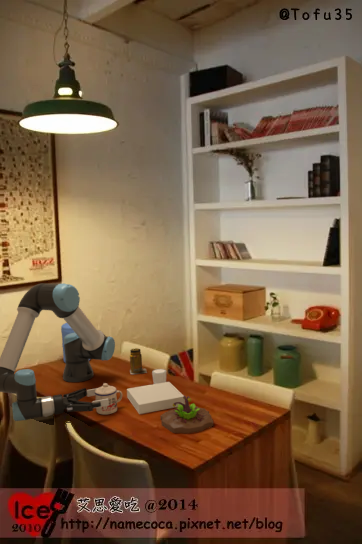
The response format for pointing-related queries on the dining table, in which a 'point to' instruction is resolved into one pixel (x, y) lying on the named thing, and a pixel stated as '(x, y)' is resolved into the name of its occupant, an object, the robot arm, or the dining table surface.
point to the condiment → (136, 362)
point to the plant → (186, 418)
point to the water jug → (65, 331)
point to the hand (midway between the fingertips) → (105, 396)
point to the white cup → (159, 376)
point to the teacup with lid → (107, 393)
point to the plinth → (154, 397)
